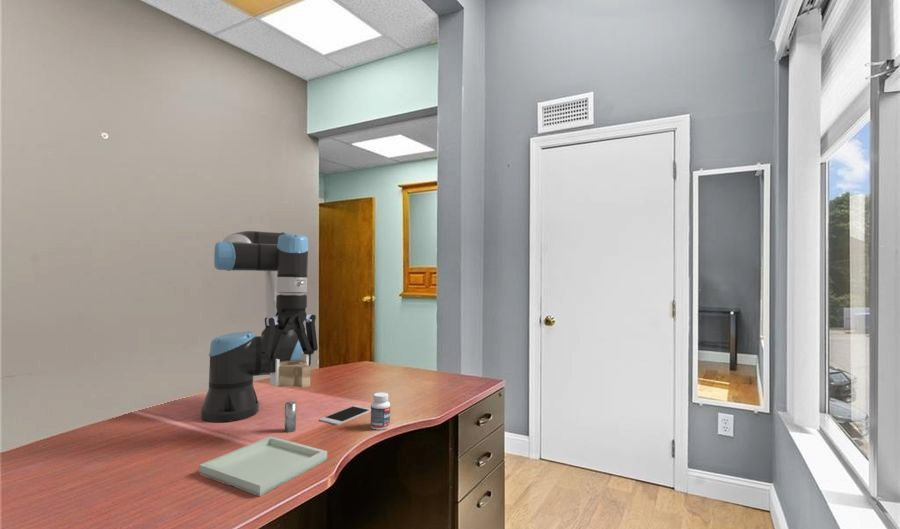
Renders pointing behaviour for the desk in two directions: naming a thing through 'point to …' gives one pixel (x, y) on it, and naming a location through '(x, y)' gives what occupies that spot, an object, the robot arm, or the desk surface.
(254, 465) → the tray
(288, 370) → the tan notched block
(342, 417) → the smartphone
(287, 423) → the grey metal cylinder
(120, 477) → the desk surface
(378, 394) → the pill bottle
